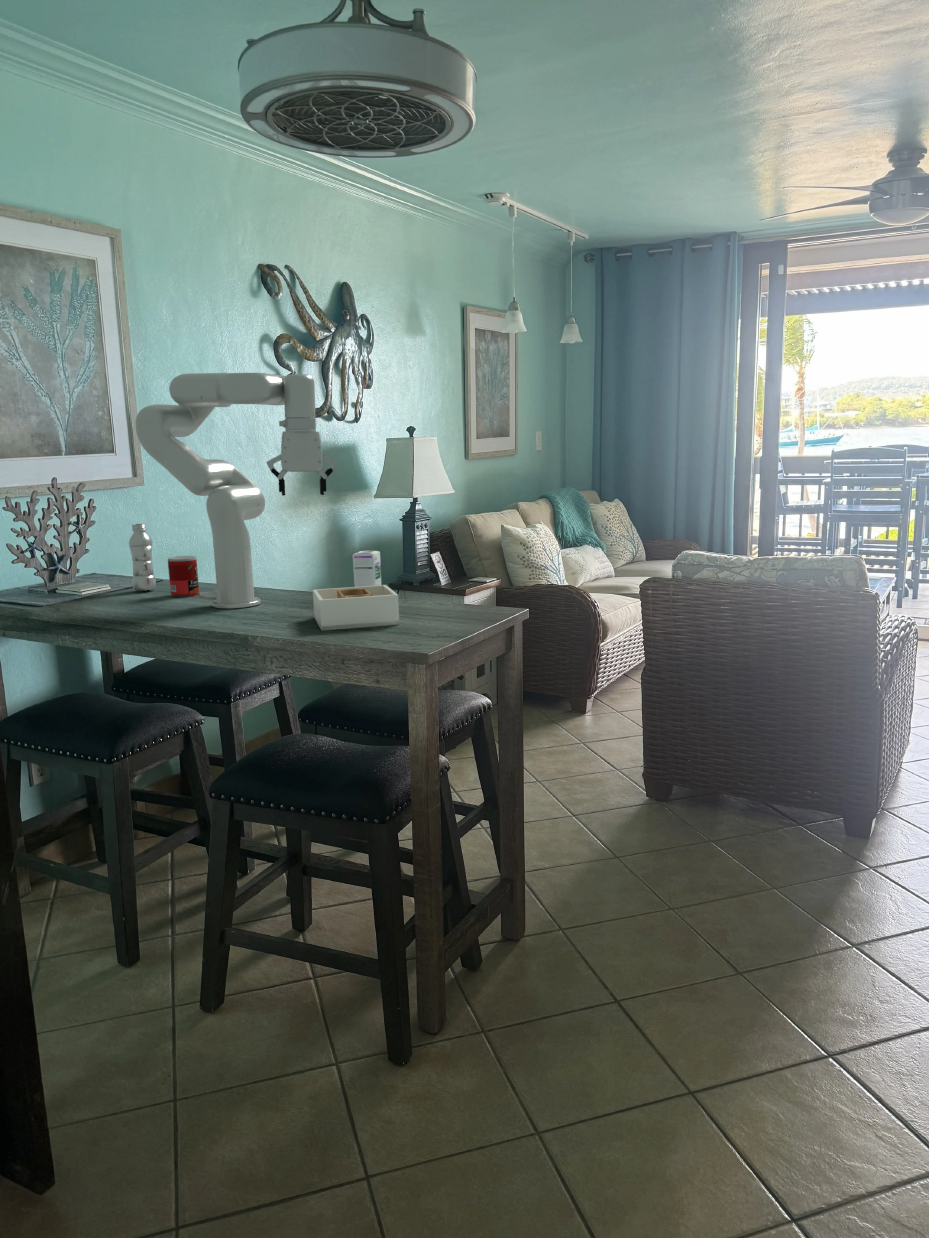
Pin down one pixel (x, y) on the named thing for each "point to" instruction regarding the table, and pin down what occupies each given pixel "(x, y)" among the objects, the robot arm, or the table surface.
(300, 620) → the table surface
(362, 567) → the syrup box
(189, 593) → the canned food
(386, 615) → the plastic crate
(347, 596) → the wooden crate
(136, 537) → the plastic bottle
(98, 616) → the table surface
